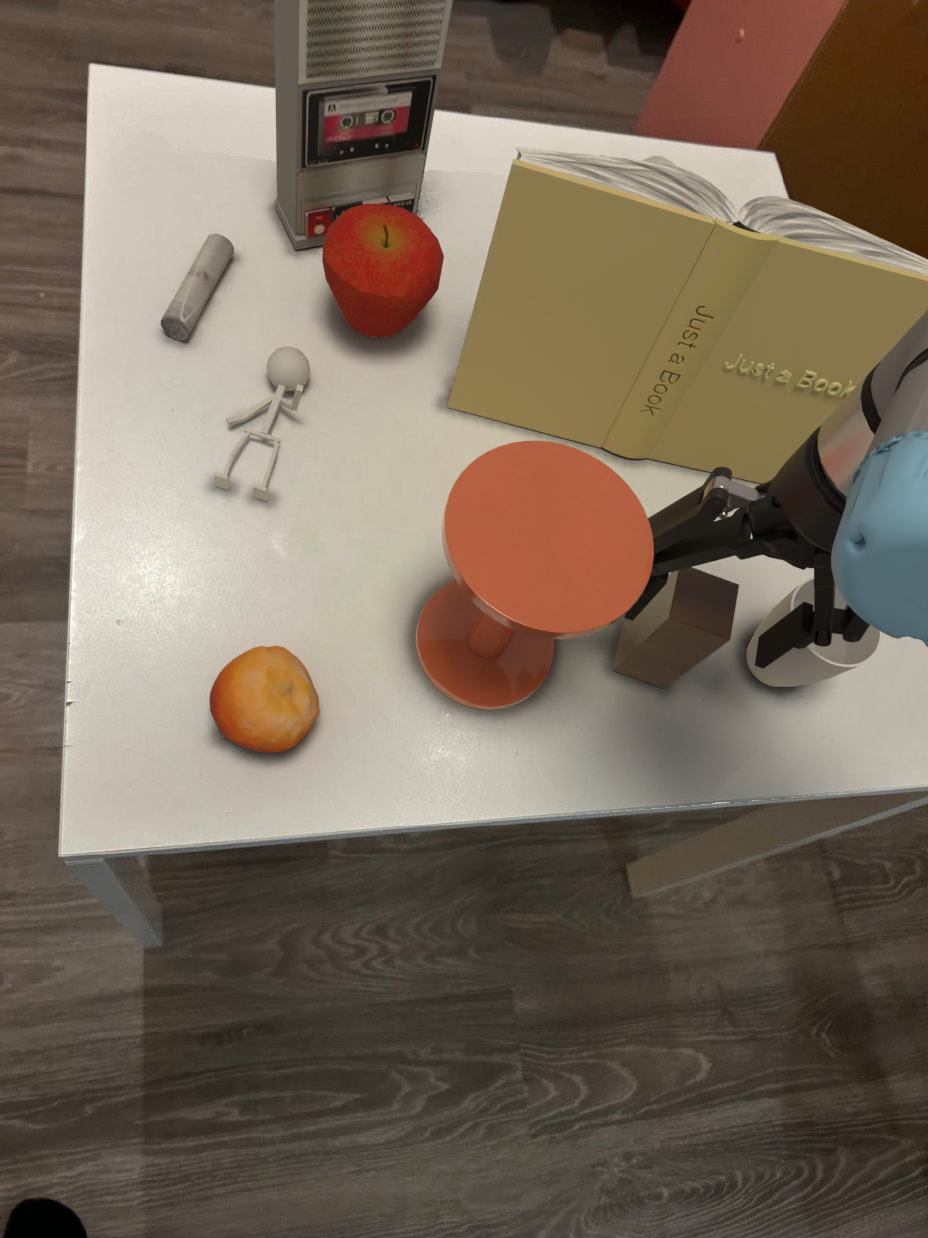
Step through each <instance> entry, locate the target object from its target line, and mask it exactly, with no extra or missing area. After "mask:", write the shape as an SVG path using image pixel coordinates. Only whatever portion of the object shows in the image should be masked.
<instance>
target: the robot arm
mask: <svg viewBox="0 0 928 1238" xmlns="http://www.w3.org/2000/svg"><path fill="white" fill-rule="evenodd" d="M732 475H733V473H732V471H731V470H730V469H729V468H727V467H717V468H715V469H714V470H713V471H712V472H710V474H709V475H708V477H707V478H706V479H705V481H704V483H703V484H702V485H701V486H699V487H697V488H695V489H694V490H692V491H691V492H689V493H688V494H686V495H684V496H682V497H680V498H679V499H677V500H676V501H673V502H672V503H670V504H669V505H667V506H666V507H664V508H662V509H661V510H659V511H657V512H656V513H654V514H652V515H651V516H649V517H647V518H648V520H649V523H650V527H651V530H652V536H653V543H654V559H653V566H652V571H651V575H650V578H649V581H648V583H647V585H646V587H645V589H644V592H643V593H642V594H641V596H640V597H639V599H638V600H637V602H636V603H635V604H634V605H633V606H632V607H631V608H630V609H629V610H628V611H627V612H626V613H625V614H624V615H623V618H624V619H625V620H626V619H629V620H632V621H633V620H634V619H635V618H636V617H637V616H638V615H639V614H640V612H641V611H642V610H643V609H644V608H645V607H646V606H647V605H648V604H649V602H650V601H651V600H652V599H653V598H654V597H655V596H656V595H657V594H658V593H659V591H660V590H661V589H662V588H663V587H664V586H665V585H666V584H667V580H668V575H669V574H670V573H671V572H674V571H678V570H682V569H686V568H689V567H692V568H694V567H697V566H701V565H704V564H708V563H712V562H716V561H720V560H725V559H727V558H731V557H736V558H738V559H739V560H747V559H751V558H755V557H759V556H765V557H768V558H771V559H775V560H780V561H784V562H785V563H787V564H788V565H790V566H792V567H795V568H797V569H799V570H802V571H805V570H807V569H813V576H814V611H813V605H812V604H810V603H807V602H803V603H801V604H800V605H799V606H798V607H796V608H795V609H794V610H792V611H791V612H790V613H789V614H787V615H786V616H785V617H783V618H782V619H781V620H779V621H778V622H777V623H776V624H774V625H773V626H772V627H770V628H769V629H768V630H767V631H765V632H764V633H763V634H761V635H760V636H759V639H758V646H757V653H756V660H755V666H757V667H760V668H763V669H764V668H765V667H767V666H768V665H770V664H771V663H772V662H774V661H775V660H777V659H778V658H780V657H781V656H783V655H784V654H785V653H787V652H788V651H790V650H791V649H793V648H797V649H802V648H806V647H807V646H809V644H811V643H814V644H815V645H817V646H821V647H826V646H829V645H831V640H832V633H833V634H840V635H842V638H843V640H845V641H847V642H858V641H860V640H861V638H862V637H863V635H864V634H865V632H866V631H867V629H868V628H869V626H870V625H871V626H873V627H874V628H876V629H877V630H879V631H881V632H882V634H885V635H887V636H889V637H891V638H893V639H897V640H899V639H901V638H907V637H909V638H911V639H914V640H919V641H921V642H923V643H924V645H925V646H926V647H927V648H928V310H927V311H926V312H925V313H924V314H923V315H922V316H921V317H920V318H919V319H918V321H917V322H916V323H915V324H914V325H913V326H912V327H911V328H910V329H909V330H908V331H907V333H906V334H905V335H904V336H903V337H902V338H901V339H900V340H899V341H898V342H897V344H896V345H895V346H894V347H893V348H892V349H891V350H890V351H889V352H888V353H887V354H886V356H885V357H884V358H883V359H882V360H881V361H880V362H879V363H878V364H877V365H876V366H875V367H874V368H873V370H872V371H871V372H870V373H868V374H867V375H866V376H865V377H864V378H863V380H862V381H861V382H860V383H859V384H858V385H857V386H856V387H855V388H854V389H853V390H852V391H851V393H850V394H849V395H848V396H847V397H846V398H845V399H844V400H843V401H842V402H841V403H840V404H839V405H838V407H837V408H836V409H835V410H834V411H833V412H832V413H831V414H830V415H829V416H828V417H827V418H826V420H825V421H824V423H823V424H822V425H821V426H820V427H818V428H817V429H816V430H815V431H814V432H813V433H812V434H811V435H810V436H809V437H808V439H807V440H806V441H805V442H804V443H803V444H802V445H801V446H800V447H799V448H798V449H797V450H796V451H795V453H794V454H793V455H792V456H791V457H790V458H789V459H788V460H787V461H786V462H785V464H784V465H783V466H782V468H781V469H780V470H779V472H778V473H777V474H776V476H775V477H774V478H773V479H771V480H770V481H768V482H765V483H759V484H758V485H756V486H755V487H750V486H748V485H745V484H742V483H739V482H736V481H734V480H733V477H732ZM734 510H735V511H734ZM733 511H734V512H733ZM731 512H733V514H732V515H730V516H728V515H729V513H731ZM718 518H719V519H718ZM836 586H837V588H838V590H839V592H840V594H841V596H842V597H843V599H844V600H845V602H846V603H847V605H846V607H845V609H839V608H835V590H836Z"/></svg>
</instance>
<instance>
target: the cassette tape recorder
mask: <svg viewBox="0 0 928 1238" xmlns="http://www.w3.org/2000/svg"><path fill="white" fill-rule="evenodd" d="M453 4H454V0H273V17H274V18H273V20H274V21H273V22H274V23H273V25H274V27H273V28H274V84H275V85H274V88H275V90H274V91H275V93H274V94H275V95H274V97H275V151H276V152H275V153H276V157H275V159H276V160H275V161H276V198H275V199H274V209H275V210H276V212H277V215H278V216H279V218H280V220H281V223H282V224H283V227H284V228H285V232H286V233H287V235H288V237H289V240H290V241H291V243H292V245H293V247H294V249H295V250H301V249H308V248H313V247H318V246H319V247H320V246H323V242H324V240H325V237H326V234H327V231H328V228H329V226H330V225H331V224H332V223H333V222H334V221H335V220H336V219H337V218H338V217H339V216H340V215H341V214H342V213H343V212H345V211H347V210H348V209H350V208H352V207H356V206H359V205H363V204H386V205H391V206H396V207H401V208H404V209H406V210H408V211H410V212H411V213H413V214H415V215H417V216H419V217H420V215H419V213H418V210H419V205H420V199H421V192H422V187H423V181H424V175H425V169H426V162H427V157H428V151H429V146H430V139H431V134H432V128H433V122H434V116H435V112H436V111H435V110H436V105H437V99H438V93H439V87H440V81H441V75H442V70H443V63H444V57H445V51H446V45H447V39H448V35H449V34H448V33H449V28H450V23H451V22H450V21H451V16H452V10H453Z"/></svg>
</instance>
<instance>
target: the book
mask: <svg viewBox="0 0 928 1238" xmlns="http://www.w3.org/2000/svg"><path fill="white" fill-rule="evenodd" d="M515 150H516V151H517V155H516V158H514V157H512V162H511V166H510V170H509V173H508V177H507V181H506V184H505V188H504V192H503V196H502V200H501V204H500V207H499V210H498V214H497V218H496V222H495V225H494V229H493V233H492V237H491V241H490V244H489V248H488V252H487V256H486V259H485V263H484V266H483V271H482V274H481V278H480V281H479V285H478V289H477V293H476V296H475V301H474V304H473V307H472V312H471V316H470V318H469V322H468V327H467V330H466V334H465V337H464V342H463V345H462V349H461V352H460V356H459V359H458V363H457V367H456V371H455V375H454V379H453V383H452V386H451V391H450V394H449V397H448V401H447V406H446V408H449V409H452V410H457V411H461V412H464V413H468V414H472V415H476V416H479V417H483V418H487V419H490V420H494V421H499V422H502V423H505V424H509V425H513V426H517V427H521V428H525V429H528V430H532V431H537V432H539V433H543V434H548V435H551V436H555V437H559V438H563V439H566V440H570V441H574V442H578V443H582V444H585V445H590V446H592V447H596V448H603V449H604V450H606V451H608V452H610V453H612V454H616V455H618V456H621V457H624V458H628V459H634V460H640V459H642V460H643V459H649V460H653V461H658V462H662V463H668V464H672V465H677V466H681V467H685V468H690V469H695V470H699V471H704V472H709V473H712V471H713V470H714V469H715V468H717V467H727V468H729V469H730V470H731V471H732V473H733V475H732V478H735V479H740V480H744V481H748V482H749V481H750V482H754V483H757V484H762V483H765V482H768V481H770V480H771V479H773V478H774V477H775V476H776V474H777V473H778V472H779V470H780V469H781V468H782V466H783V465H784V464H785V462H786V461H787V460H788V459H789V458H790V457H791V456H792V455H793V454H794V453H795V451H796V450H797V449H798V448H799V447H800V446H801V445H802V444H803V443H804V442H805V441H806V440H807V439H808V437H809V436H810V435H811V434H812V433H813V432H814V431H815V430H816V429H817V428H818V427H820V426H821V425H822V424H823V423H824V421H825V420H826V418H827V417H828V416H829V415H830V414H831V413H832V412H833V411H834V410H835V409H836V408H837V407H838V405H839V404H840V403H841V402H842V401H843V400H844V399H845V398H846V397H847V396H848V395H849V394H850V393H851V391H852V390H853V389H854V388H855V387H856V386H857V385H858V384H859V383H860V382H861V381H862V380H863V378H864V377H865V376H866V375H867V374H868V373H870V372H871V371H872V370H873V368H874V367H875V366H876V365H877V364H878V363H879V362H880V361H881V360H882V359H883V358H884V357H885V356H886V354H887V353H888V352H889V351H890V350H891V349H892V348H893V347H894V346H895V345H896V344H897V342H898V341H899V340H900V339H901V338H902V337H903V336H904V335H905V334H906V333H907V331H908V330H909V329H910V328H911V327H912V326H913V325H914V324H915V323H916V322H917V321H918V319H919V318H920V317H921V316H922V315H923V314H924V313H925V312H926V311H927V310H928V259H927V258H926V257H923V256H921V255H919V254H916V253H915V252H912V251H909V250H908V249H905V248H904V247H900V246H899V245H897V244H895V243H892V242H890V241H888V240H886V239H884V238H881V237H879V236H877V235H875V234H873V233H870V232H868V231H867V230H864V229H861V228H860V227H857V226H855V225H853V224H851V223H849V222H847V221H844V220H842V219H840V218H838V217H835V216H833V215H831V214H829V213H827V212H825V211H822V210H820V209H817V208H815V207H813V206H811V205H808V204H805V203H801V202H800V201H796V200H793V199H791V198H787V197H783V196H779V195H778V196H777V195H776V196H774V195H766V196H765V195H763V196H759V197H756V198H752V199H751V200H749V201H747V202H746V203H744V204H743V205H742V206H741V207H740V209H739V211H738V210H737V208H736V206H735V205H734V204H733V203H732V202H731V200H730V199H729V198H728V197H727V196H726V195H725V193H723V192H722V191H721V190H720V189H719V188H717V186H715V185H714V184H712V183H711V182H710V181H708V180H707V179H705V178H704V177H702V176H701V175H699V174H697V173H695V172H694V171H693V172H692V171H691V170H688V169H685V168H682V167H680V166H677V165H676V166H677V167H676V166H671V165H667V164H662V163H657V162H651V161H643V160H644V159H642V160H641V159H634V158H626V157H617V156H607V155H604V156H601V155H596V154H586V153H578V152H577V153H576V152H566V151H557V150H549V149H548V150H547V149H540V148H539V149H538V148H529V147H521V146H516V147H515ZM606 156H607V157H606Z"/></svg>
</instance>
